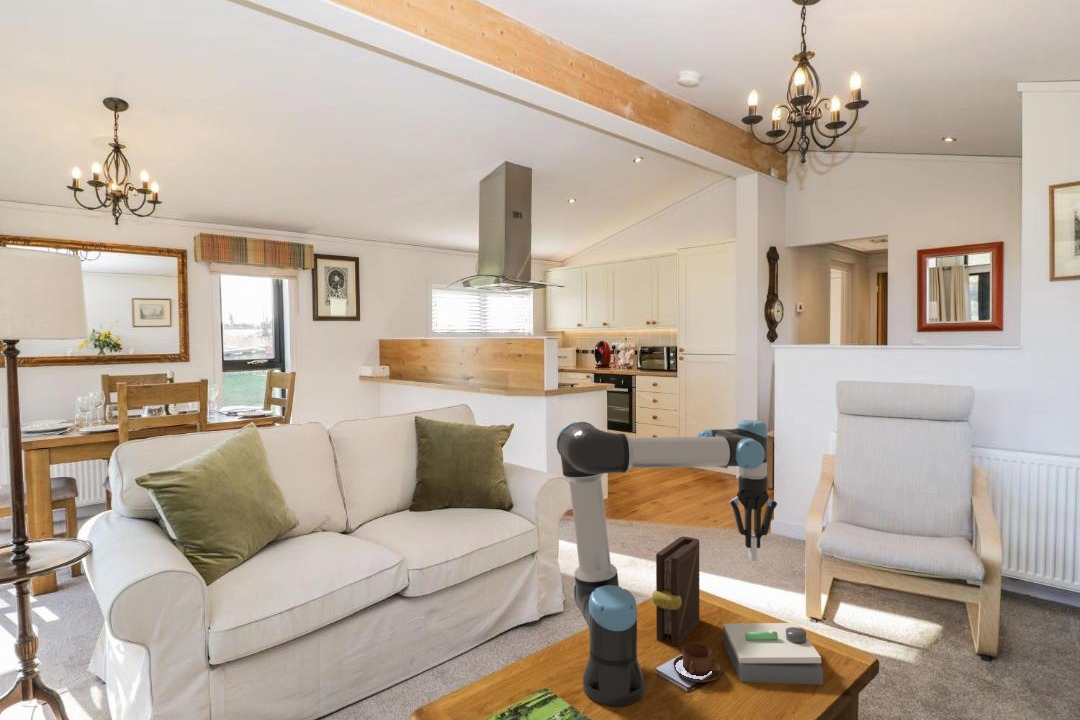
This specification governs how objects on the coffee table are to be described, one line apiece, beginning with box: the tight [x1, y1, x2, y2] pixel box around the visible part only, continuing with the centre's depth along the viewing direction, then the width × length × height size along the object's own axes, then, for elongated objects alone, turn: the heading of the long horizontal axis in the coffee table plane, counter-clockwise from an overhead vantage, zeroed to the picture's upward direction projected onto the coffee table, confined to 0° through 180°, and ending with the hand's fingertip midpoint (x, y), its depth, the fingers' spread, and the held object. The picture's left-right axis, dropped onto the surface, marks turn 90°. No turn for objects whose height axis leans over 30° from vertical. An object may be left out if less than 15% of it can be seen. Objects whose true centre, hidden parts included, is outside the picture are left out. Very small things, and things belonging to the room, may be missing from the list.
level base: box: [722, 626, 824, 686], centre depth 156 cm, size 20×20×4 cm
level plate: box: [723, 622, 822, 664], centre depth 156 cm, size 20×18×4 cm
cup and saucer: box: [672, 642, 722, 683], centre depth 151 cm, size 12×12×6 cm
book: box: [651, 536, 700, 647], centre depth 173 cm, size 22×8×25 cm, turn 144°
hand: (752, 558), depth 165 cm, fingers closed
